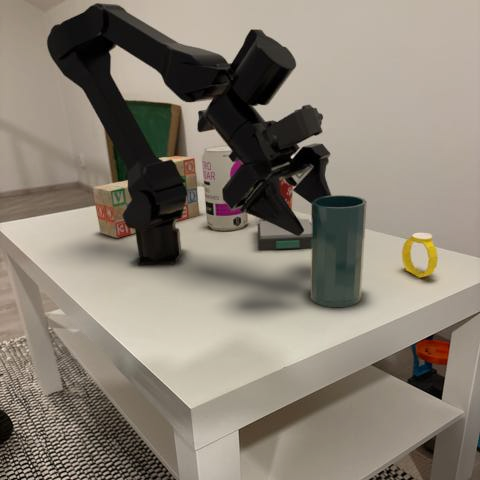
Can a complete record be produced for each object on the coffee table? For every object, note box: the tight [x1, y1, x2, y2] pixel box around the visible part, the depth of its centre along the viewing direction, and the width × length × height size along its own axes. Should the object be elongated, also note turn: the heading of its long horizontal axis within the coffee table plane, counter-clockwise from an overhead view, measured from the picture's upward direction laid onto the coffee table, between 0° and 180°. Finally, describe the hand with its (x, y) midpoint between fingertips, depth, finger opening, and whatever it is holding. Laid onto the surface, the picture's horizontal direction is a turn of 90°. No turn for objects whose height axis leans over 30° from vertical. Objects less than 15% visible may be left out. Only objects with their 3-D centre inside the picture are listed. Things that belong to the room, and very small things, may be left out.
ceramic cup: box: [310, 194, 367, 308], centre depth 66 cm, size 7×7×13 cm
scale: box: [257, 218, 311, 251], centre depth 92 cm, size 10×10×2 cm
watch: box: [401, 232, 439, 279], centre depth 73 cm, size 6×3×6 cm, turn 22°
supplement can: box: [201, 145, 249, 232], centre depth 99 cm, size 8×8×15 cm
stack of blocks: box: [92, 155, 200, 239], centre depth 104 cm, size 21×6×12 cm, turn 136°
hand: (319, 224), depth 66 cm, fingers open, 9 cm apart
